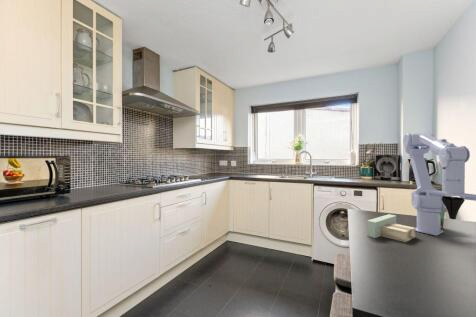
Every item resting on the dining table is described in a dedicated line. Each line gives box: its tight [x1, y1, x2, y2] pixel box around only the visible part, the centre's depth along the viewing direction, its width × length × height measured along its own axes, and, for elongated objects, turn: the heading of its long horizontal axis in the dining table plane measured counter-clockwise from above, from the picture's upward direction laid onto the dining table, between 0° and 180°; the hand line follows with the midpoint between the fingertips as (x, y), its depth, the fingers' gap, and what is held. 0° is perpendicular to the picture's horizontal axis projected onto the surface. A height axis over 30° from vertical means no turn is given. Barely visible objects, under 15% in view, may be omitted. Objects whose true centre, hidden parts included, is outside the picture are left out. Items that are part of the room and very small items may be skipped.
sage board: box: [366, 213, 398, 239], centre depth 91 cm, size 20×3×6 cm, turn 125°
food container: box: [439, 207, 448, 230], centre depth 100 cm, size 12×6×10 cm, turn 169°
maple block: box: [380, 223, 416, 243], centre depth 87 cm, size 10×8×4 cm
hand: (452, 218), depth 78 cm, fingers closed
